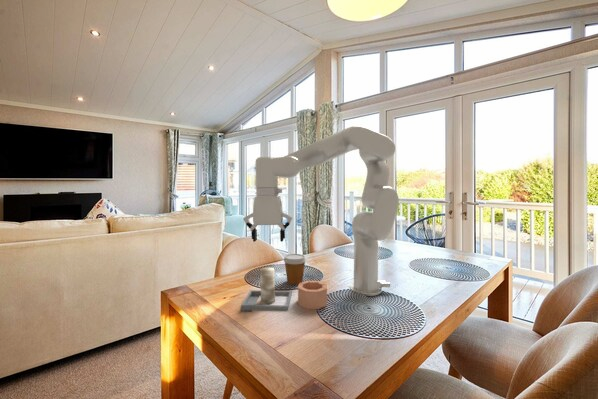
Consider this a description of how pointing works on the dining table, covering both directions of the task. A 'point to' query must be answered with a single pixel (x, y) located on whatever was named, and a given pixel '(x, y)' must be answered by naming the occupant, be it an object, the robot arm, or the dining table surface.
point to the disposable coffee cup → (294, 268)
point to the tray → (252, 299)
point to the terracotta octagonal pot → (312, 294)
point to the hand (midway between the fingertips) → (268, 240)
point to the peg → (267, 285)
